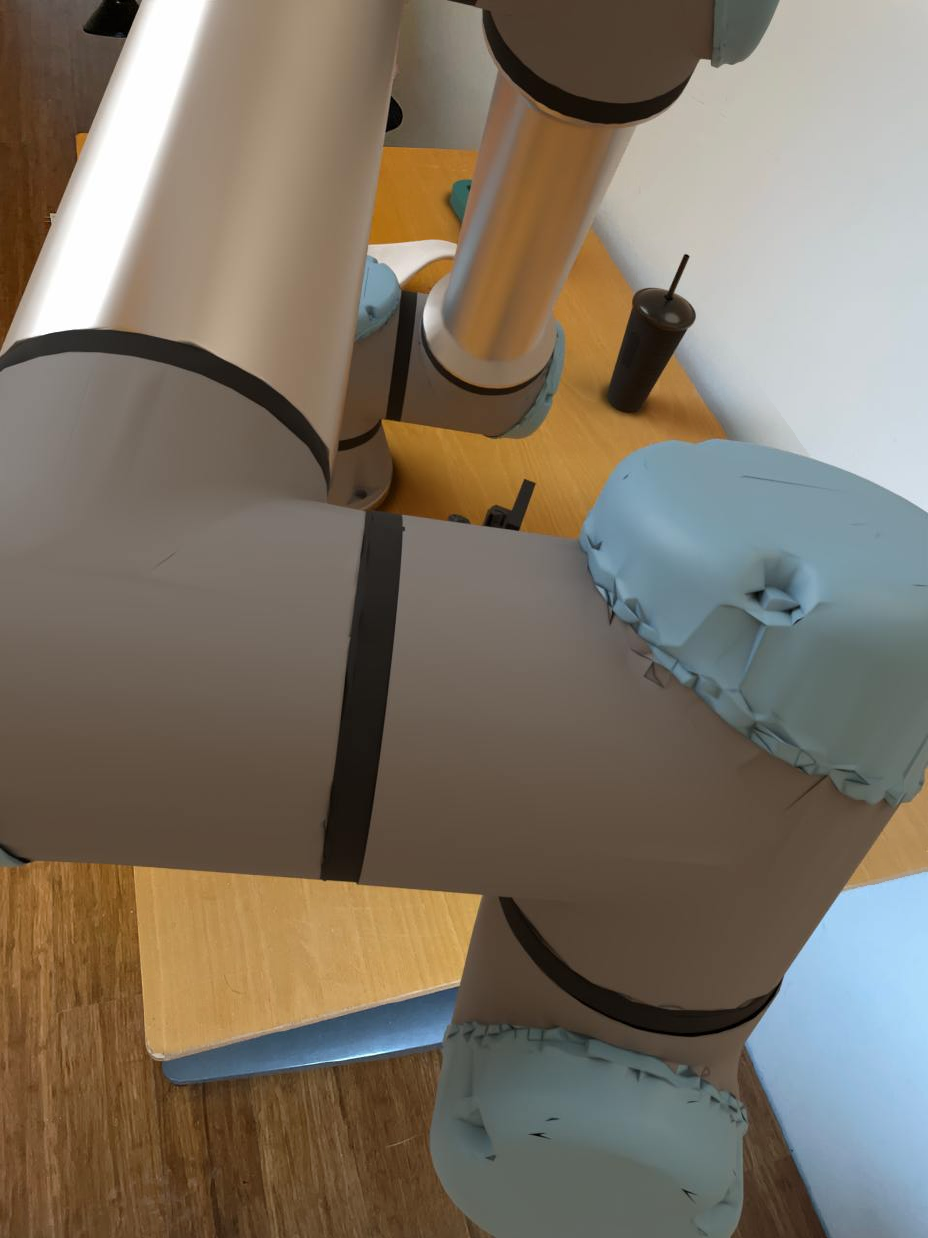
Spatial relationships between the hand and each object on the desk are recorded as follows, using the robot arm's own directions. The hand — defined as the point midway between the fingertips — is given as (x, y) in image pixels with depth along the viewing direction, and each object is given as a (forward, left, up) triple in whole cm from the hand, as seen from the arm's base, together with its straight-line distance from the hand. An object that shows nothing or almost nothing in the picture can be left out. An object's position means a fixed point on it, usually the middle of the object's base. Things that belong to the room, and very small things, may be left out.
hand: (628, 538), depth 49 cm
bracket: (-5, +89, -29) cm, 93 cm away
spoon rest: (-17, +66, -29) cm, 74 cm away
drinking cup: (+14, +52, -29) cm, 62 cm away
